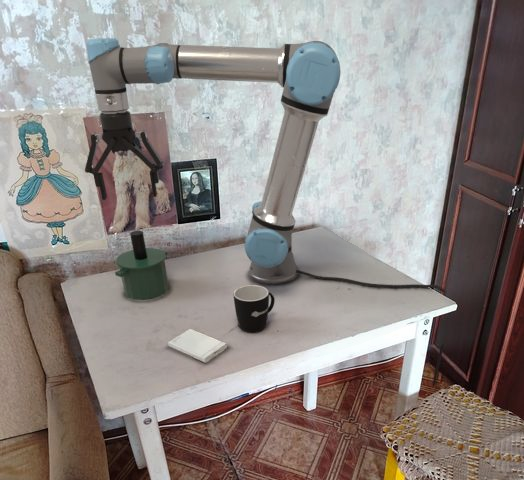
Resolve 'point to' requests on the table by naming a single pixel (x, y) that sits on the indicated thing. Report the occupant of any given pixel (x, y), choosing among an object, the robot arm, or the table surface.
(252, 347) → the table surface
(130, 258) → the lid
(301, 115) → the robot arm
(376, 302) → the table surface
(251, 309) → the mug
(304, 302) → the table surface
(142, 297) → the pot
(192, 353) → the hard drive
